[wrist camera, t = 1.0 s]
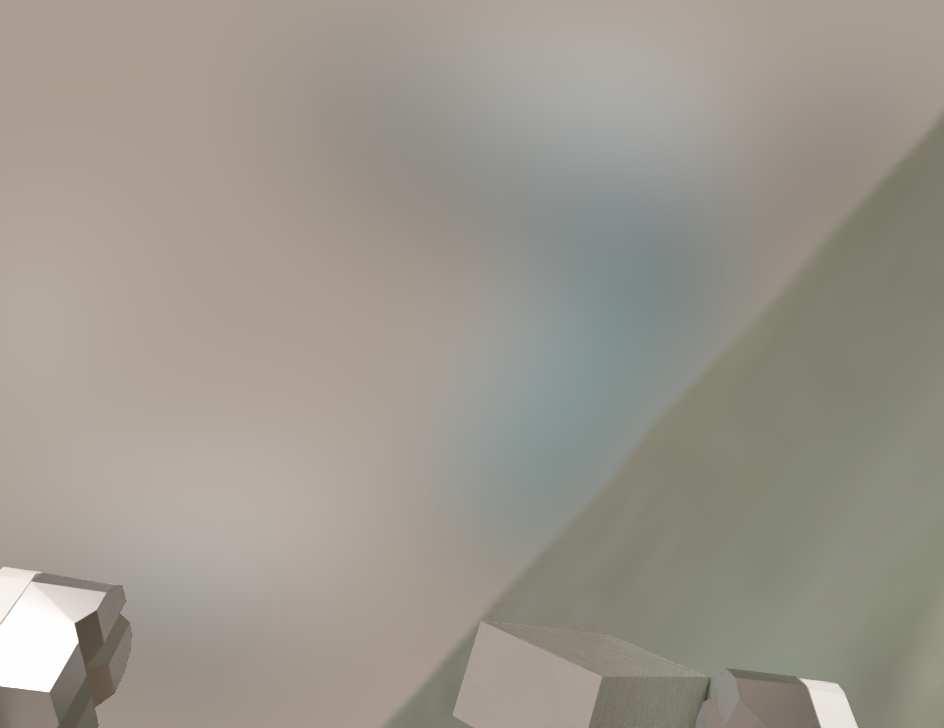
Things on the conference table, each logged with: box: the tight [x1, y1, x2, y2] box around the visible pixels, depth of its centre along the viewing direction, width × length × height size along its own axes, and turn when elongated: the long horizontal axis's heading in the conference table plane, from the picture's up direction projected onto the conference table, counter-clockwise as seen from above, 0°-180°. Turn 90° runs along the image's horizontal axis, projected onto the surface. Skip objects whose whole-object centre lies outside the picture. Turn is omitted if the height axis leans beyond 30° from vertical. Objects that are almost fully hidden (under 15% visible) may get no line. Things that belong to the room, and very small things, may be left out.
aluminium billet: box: [453, 621, 710, 728], centre depth 35 cm, size 6×4×12 cm, turn 67°
